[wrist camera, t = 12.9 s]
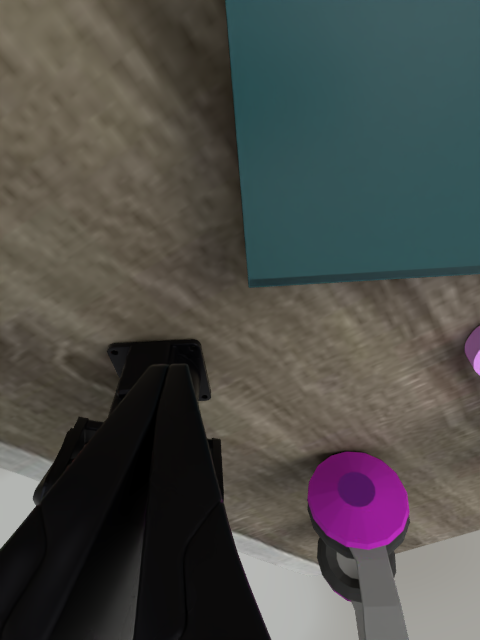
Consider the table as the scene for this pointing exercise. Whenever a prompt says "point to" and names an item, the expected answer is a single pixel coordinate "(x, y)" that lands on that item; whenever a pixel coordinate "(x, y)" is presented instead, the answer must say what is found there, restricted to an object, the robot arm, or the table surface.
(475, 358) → the bracket
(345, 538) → the headphones
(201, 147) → the table surface
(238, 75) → the book
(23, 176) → the table surface
